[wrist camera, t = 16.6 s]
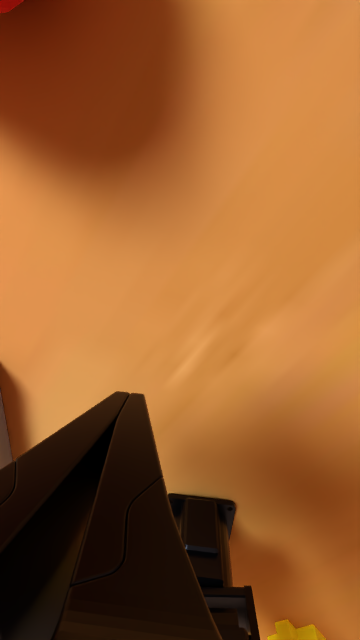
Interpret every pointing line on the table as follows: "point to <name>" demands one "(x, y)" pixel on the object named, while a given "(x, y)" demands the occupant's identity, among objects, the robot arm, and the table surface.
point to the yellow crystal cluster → (295, 632)
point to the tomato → (8, 5)
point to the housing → (4, 439)
